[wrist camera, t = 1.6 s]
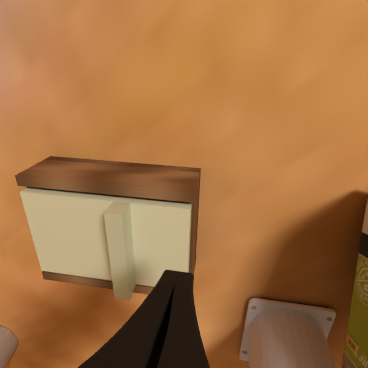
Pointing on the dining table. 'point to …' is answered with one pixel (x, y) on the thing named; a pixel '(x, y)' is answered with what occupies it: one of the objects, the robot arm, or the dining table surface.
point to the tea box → (359, 309)
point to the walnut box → (117, 193)
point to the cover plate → (108, 236)
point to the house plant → (6, 345)
